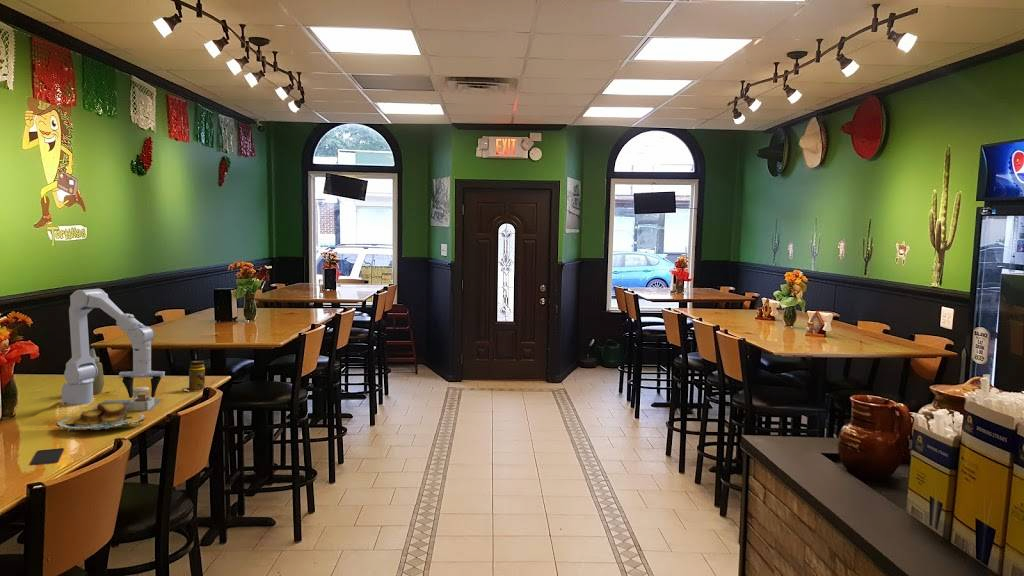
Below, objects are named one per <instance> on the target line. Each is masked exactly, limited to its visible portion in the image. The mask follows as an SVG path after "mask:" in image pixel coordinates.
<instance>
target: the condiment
mask: <svg viewBox="0 0 1024 576" xmlns="http://www.w3.org/2000/svg"><path fill="white" fill-rule="evenodd" d="M205 385H206V368H205V362H204V360H191V361H190V362H189V368H188V387H182V390H183V389H187V390H189V391H187V392H186V393H188V392H189V393H190V392H196V391H195V390H201V391H200V392H203V391H202V389H203V388H204V387H205V388H206V386H205Z"/></svg>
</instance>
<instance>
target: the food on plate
mask: <svg viewBox="0 0 1024 576" xmlns="http://www.w3.org/2000/svg"><path fill="white" fill-rule="evenodd" d="M97 405H98V407H97V409H93V408H92V409H93V410H92V409H89V410H85V411H82V412H81V414H80V418H77V419H75V420H74V422H73V423H66V424H65V422H67V421H70V419H72V417H69V418H64V419H62V420H60V421H58V422H57V423H55V424H56V425H55V426H57V428H59V427H62V428H67V429H68V430H67V432H70V430H73V431H78V430H80V431H82V430H83V431H84V430H95V431H97V430H98V431H100V430H103V429H105V430H107V429H111V428H112V427H117V426H123V427H125V426H127V425H128V426H129V425H132V424H137V423H139V422H141V421H145V420H146V418H147V416H146V415H145V414H142V413H139V415H140V418H138V420H133V421H128V420H130V419H133V416H127V415H128V411H127V408H126V406H125V405H124V404H122V403H119V402H106V403H102V402H99V403H98V404H97Z"/></svg>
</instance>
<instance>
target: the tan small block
mask: <svg viewBox="0 0 1024 576" xmlns="http://www.w3.org/2000/svg"><path fill="white" fill-rule="evenodd" d="M148 397H149V392H148V391H147V392H141V393H139V394H138V402H145V401H147V400H148Z"/></svg>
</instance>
